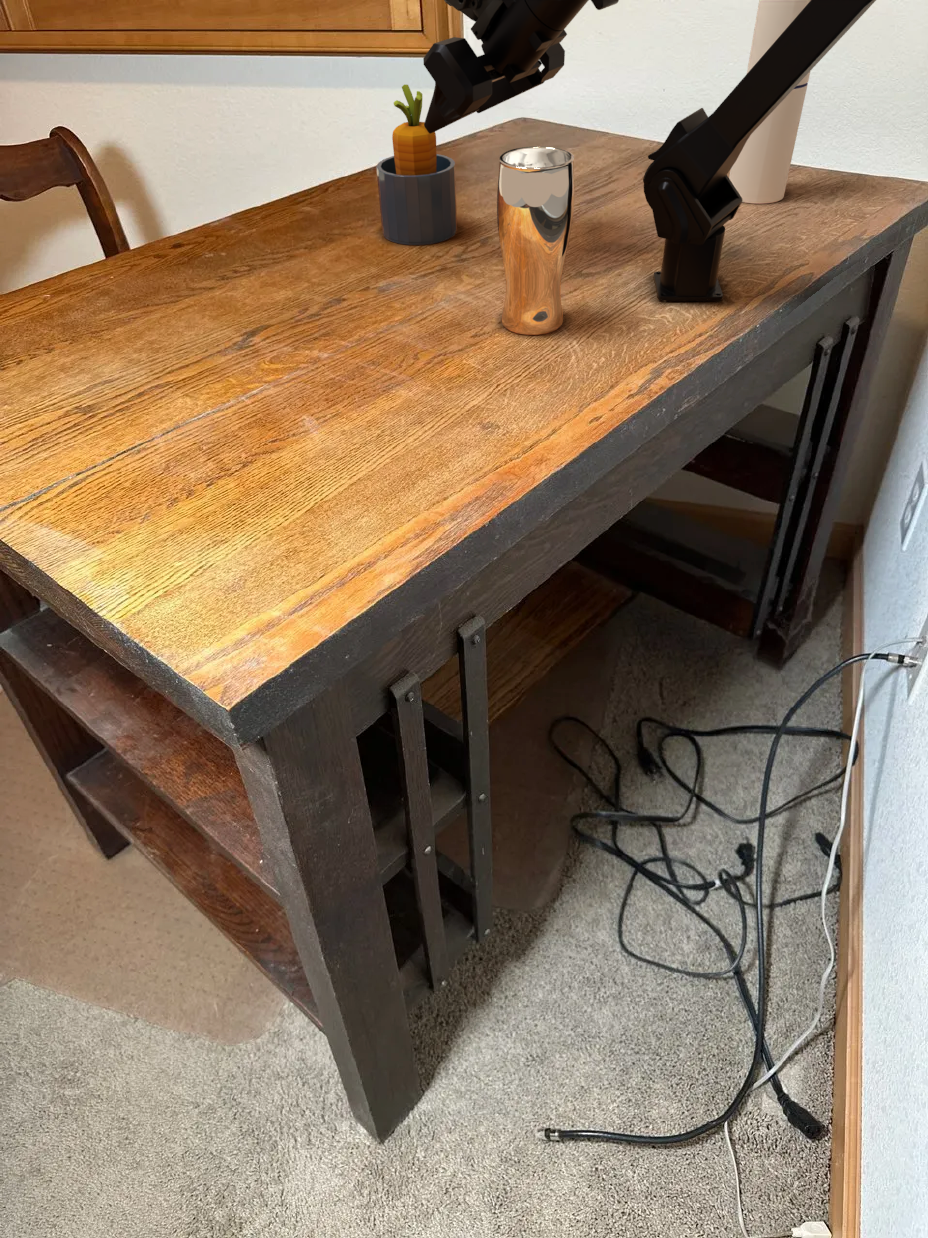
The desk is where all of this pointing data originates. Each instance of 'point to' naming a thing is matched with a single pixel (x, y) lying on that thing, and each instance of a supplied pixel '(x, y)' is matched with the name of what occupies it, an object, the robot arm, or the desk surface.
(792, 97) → the cylindrical container
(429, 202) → the cup
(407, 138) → the carrot
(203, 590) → the desk surface
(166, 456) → the desk surface
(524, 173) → the beer glass
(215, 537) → the desk surface
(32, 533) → the desk surface
